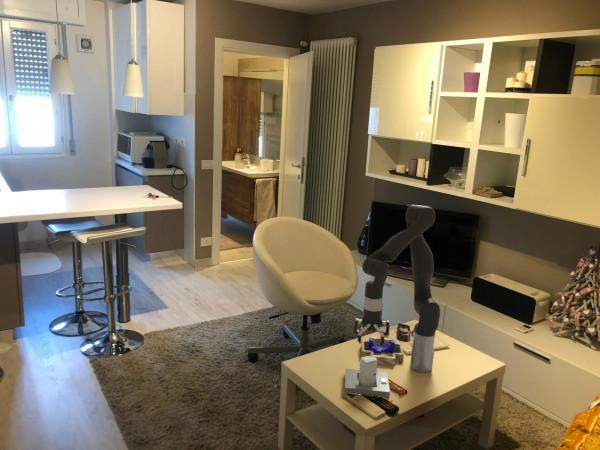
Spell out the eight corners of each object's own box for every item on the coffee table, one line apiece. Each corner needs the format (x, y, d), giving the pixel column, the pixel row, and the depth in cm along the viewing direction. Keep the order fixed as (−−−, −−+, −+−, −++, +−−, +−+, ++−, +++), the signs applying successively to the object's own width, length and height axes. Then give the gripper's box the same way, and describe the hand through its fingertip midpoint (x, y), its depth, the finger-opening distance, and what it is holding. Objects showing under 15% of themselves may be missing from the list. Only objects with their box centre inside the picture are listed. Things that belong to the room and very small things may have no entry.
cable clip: (368, 353, 237) (369, 341, 236) (368, 348, 241) (369, 337, 240) (393, 355, 236) (395, 344, 235) (393, 350, 240) (394, 339, 239)
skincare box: (363, 389, 206) (365, 362, 203) (357, 383, 210) (359, 357, 207) (376, 386, 208) (378, 360, 205) (370, 380, 212) (372, 354, 209)
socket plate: (386, 378, 216) (387, 371, 215) (389, 398, 201) (390, 390, 200) (345, 374, 217) (345, 367, 216) (344, 394, 203) (345, 386, 202)
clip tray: (400, 346, 245) (400, 339, 244) (403, 366, 227) (404, 359, 226) (361, 342, 247) (361, 336, 246) (361, 362, 228) (362, 355, 227)
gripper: (390, 304, 203) (387, 340, 207) (354, 301, 204) (352, 338, 208) (391, 311, 196) (388, 349, 200) (355, 309, 197) (353, 346, 201)
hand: (370, 343), depth 204 cm, fingers open, 8 cm apart
